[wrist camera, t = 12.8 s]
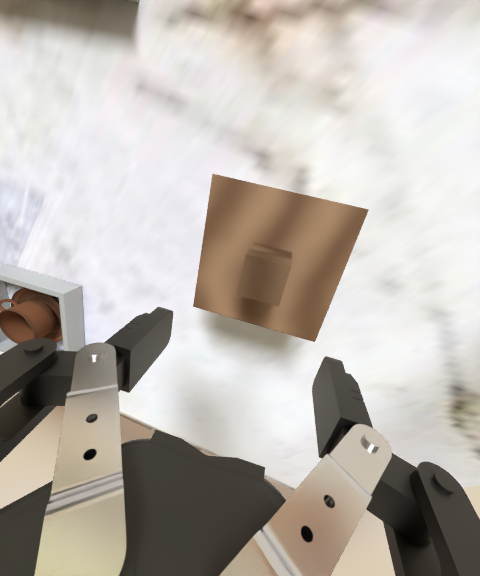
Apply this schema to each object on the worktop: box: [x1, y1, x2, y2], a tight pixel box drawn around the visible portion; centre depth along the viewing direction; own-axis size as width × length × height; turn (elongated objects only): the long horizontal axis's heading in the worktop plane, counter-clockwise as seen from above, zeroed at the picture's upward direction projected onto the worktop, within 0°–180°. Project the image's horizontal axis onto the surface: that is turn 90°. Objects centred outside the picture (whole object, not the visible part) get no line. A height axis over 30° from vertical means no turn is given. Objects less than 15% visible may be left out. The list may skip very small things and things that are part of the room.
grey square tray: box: [0, 262, 85, 352], centre depth 48 cm, size 18×18×4 cm
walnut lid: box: [193, 174, 368, 342], centre depth 24 cm, size 15×15×6 cm
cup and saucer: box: [0, 288, 63, 344], centre depth 47 cm, size 12×12×6 cm
